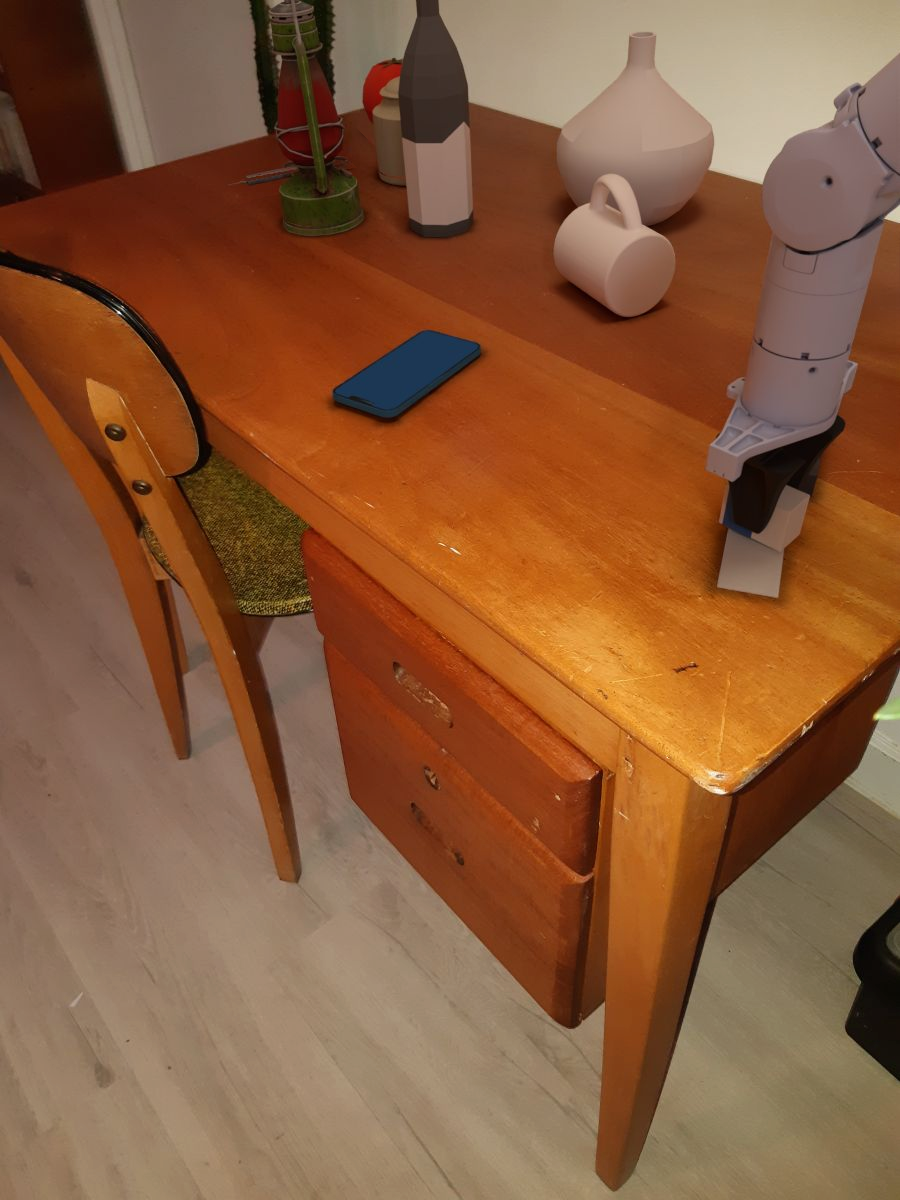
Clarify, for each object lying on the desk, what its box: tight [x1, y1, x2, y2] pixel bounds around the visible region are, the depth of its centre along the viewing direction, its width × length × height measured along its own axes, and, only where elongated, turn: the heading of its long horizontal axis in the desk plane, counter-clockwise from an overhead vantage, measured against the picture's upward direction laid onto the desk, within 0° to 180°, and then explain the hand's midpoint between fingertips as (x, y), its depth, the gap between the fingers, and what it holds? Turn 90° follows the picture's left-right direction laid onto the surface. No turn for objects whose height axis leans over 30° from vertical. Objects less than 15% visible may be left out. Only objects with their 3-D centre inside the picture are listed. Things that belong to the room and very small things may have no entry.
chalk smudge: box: [716, 527, 785, 599], centre depth 62 cm, size 8×4×1 cm, turn 161°
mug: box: [552, 174, 676, 318], centre depth 89 cm, size 8×10×12 cm
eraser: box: [718, 481, 811, 552], centre depth 62 cm, size 5×3×4 cm, turn 44°
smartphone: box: [331, 329, 482, 419], centre depth 83 cm, size 7×1×15 cm
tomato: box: [361, 57, 403, 125], centre depth 138 cm, size 11×13×10 cm
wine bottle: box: [398, 0, 474, 239], centre depth 100 cm, size 8×8×30 cm
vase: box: [556, 31, 715, 227], centre depth 103 cm, size 18×18×19 cm
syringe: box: [229, 158, 349, 187], centre depth 126 cm, size 8×18×2 cm, turn 115°
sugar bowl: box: [372, 56, 407, 187], centre depth 121 cm, size 15×11×15 cm
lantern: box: [268, 0, 365, 237], centre depth 104 cm, size 14×11×30 cm
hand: (761, 515), depth 63 cm, fingers closed on eraser, 3 cm apart
